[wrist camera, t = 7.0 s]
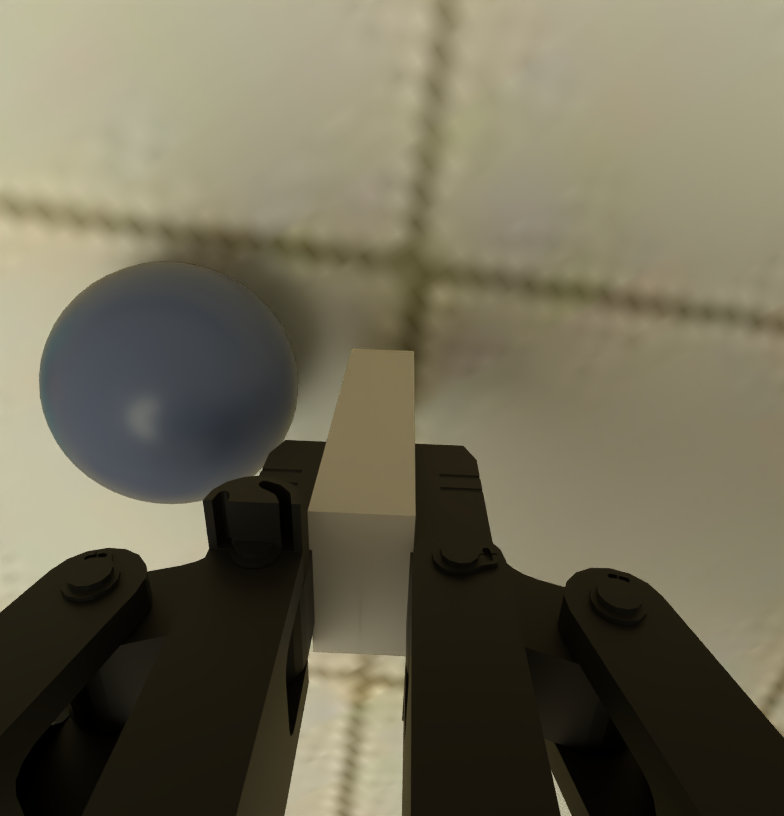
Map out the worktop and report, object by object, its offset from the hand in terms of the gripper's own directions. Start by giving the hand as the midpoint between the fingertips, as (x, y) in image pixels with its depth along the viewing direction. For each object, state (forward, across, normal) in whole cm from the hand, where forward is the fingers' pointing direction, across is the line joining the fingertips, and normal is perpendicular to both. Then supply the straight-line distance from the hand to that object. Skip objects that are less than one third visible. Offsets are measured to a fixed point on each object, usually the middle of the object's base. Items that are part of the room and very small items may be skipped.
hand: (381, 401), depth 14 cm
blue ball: (-1, +5, -1) cm, 5 cm away
